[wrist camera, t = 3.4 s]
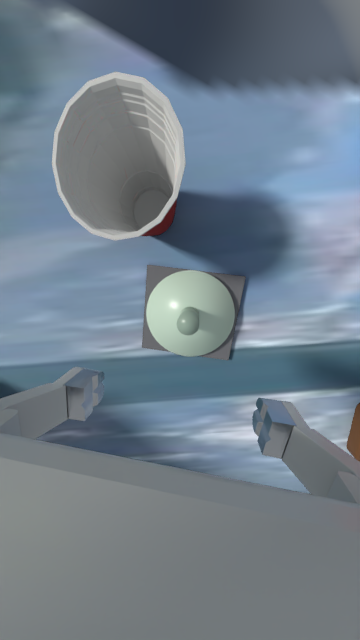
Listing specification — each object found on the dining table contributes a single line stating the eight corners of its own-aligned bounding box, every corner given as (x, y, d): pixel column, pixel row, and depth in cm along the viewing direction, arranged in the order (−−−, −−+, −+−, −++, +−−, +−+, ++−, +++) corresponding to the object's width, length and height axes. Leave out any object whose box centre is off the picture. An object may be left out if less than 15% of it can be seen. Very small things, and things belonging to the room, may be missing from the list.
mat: (227, 358, 29) (228, 360, 29) (143, 346, 30) (142, 347, 30) (244, 276, 26) (245, 276, 25) (148, 265, 27) (147, 264, 26)
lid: (224, 359, 29) (230, 378, 24) (144, 347, 30) (134, 363, 25) (242, 276, 25) (253, 277, 20) (150, 265, 26) (139, 263, 21)
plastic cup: (132, 148, 23) (67, 27, 12) (206, 190, 24) (214, 112, 12) (103, 231, 26) (28, 199, 15) (169, 267, 27) (147, 264, 15)
